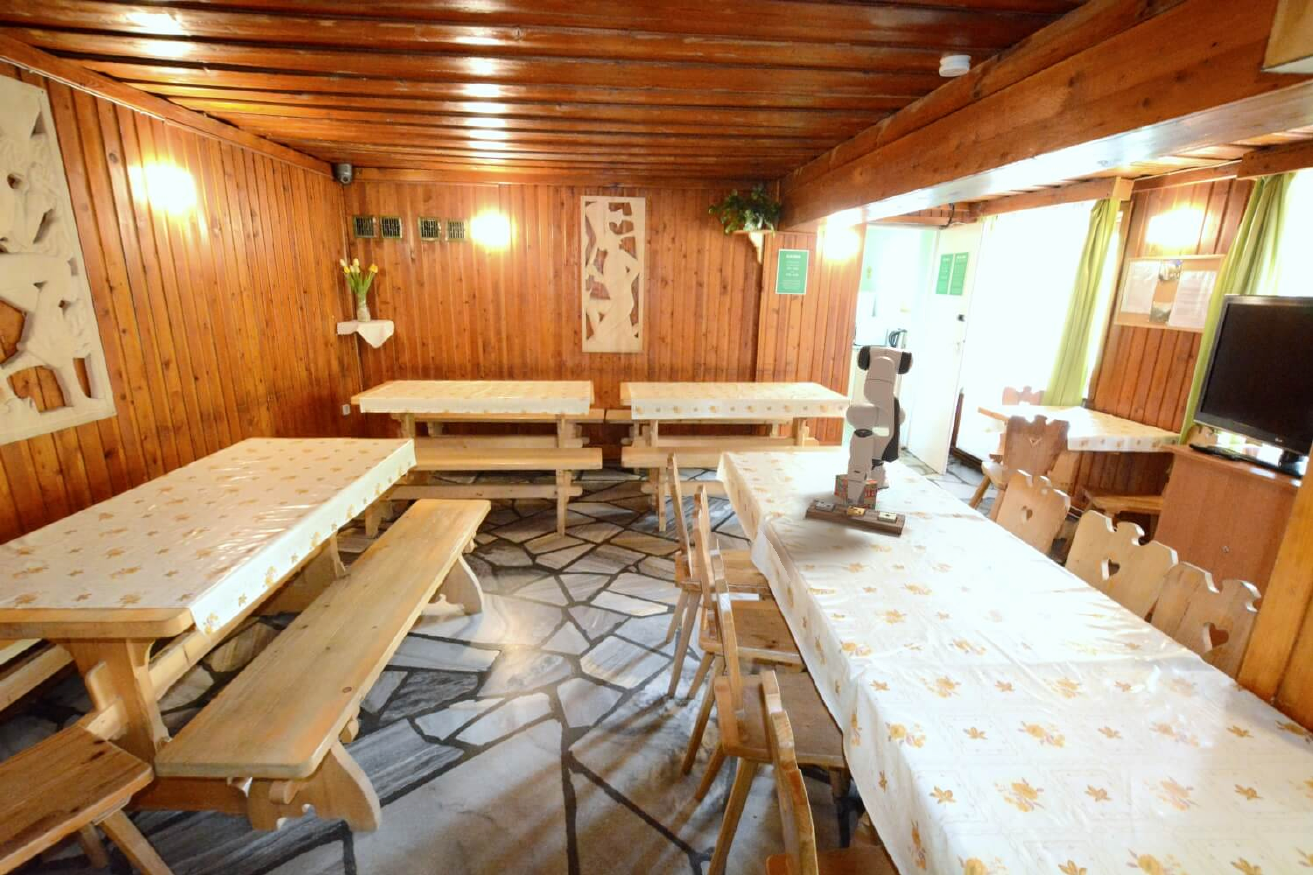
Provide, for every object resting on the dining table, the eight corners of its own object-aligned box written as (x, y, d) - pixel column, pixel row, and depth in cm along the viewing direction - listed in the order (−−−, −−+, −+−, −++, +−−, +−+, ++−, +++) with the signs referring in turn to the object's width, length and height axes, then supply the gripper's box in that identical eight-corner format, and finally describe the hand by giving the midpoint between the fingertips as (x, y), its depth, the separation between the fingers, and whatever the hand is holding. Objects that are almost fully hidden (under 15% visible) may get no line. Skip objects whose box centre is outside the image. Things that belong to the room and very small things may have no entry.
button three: (848, 515, 237) (849, 505, 236) (863, 518, 234) (864, 508, 233) (845, 520, 232) (846, 510, 231) (861, 523, 229) (862, 513, 228)
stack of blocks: (833, 494, 262) (836, 468, 259) (845, 493, 264) (848, 467, 261) (862, 511, 242) (865, 483, 239) (875, 510, 244) (878, 482, 241)
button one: (879, 520, 232) (880, 511, 231) (895, 523, 229) (896, 513, 228) (877, 526, 226) (878, 516, 225) (893, 529, 224) (895, 519, 223)
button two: (818, 509, 242) (819, 500, 241) (833, 512, 240) (834, 503, 239) (815, 514, 237) (816, 505, 236) (830, 517, 234) (831, 507, 233)
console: (813, 506, 247) (814, 499, 246) (904, 522, 231) (905, 515, 230) (805, 517, 235) (806, 510, 234) (901, 534, 219) (901, 527, 218)
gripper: (855, 462, 239) (852, 493, 242) (846, 476, 221) (842, 510, 225) (871, 464, 236) (868, 496, 239) (863, 479, 218) (859, 513, 222)
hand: (855, 503), depth 232 cm, fingers closed
